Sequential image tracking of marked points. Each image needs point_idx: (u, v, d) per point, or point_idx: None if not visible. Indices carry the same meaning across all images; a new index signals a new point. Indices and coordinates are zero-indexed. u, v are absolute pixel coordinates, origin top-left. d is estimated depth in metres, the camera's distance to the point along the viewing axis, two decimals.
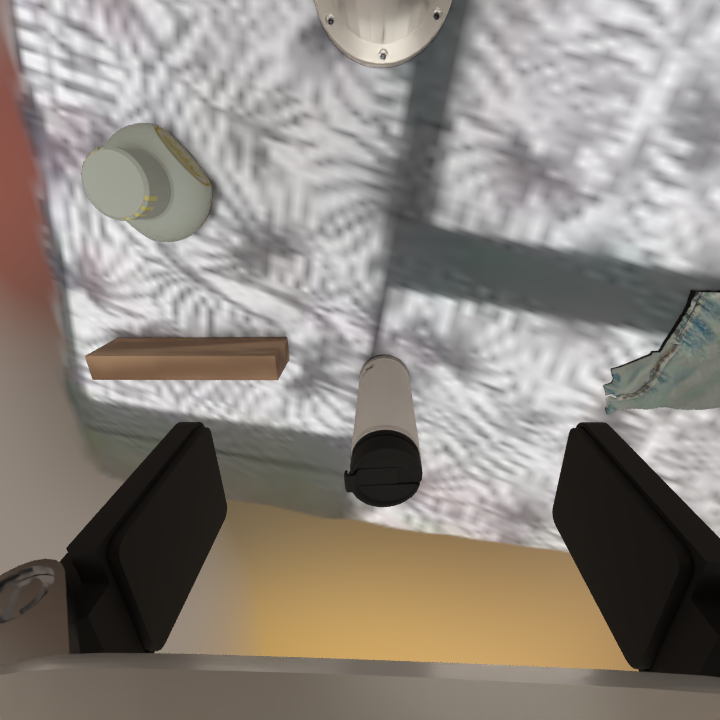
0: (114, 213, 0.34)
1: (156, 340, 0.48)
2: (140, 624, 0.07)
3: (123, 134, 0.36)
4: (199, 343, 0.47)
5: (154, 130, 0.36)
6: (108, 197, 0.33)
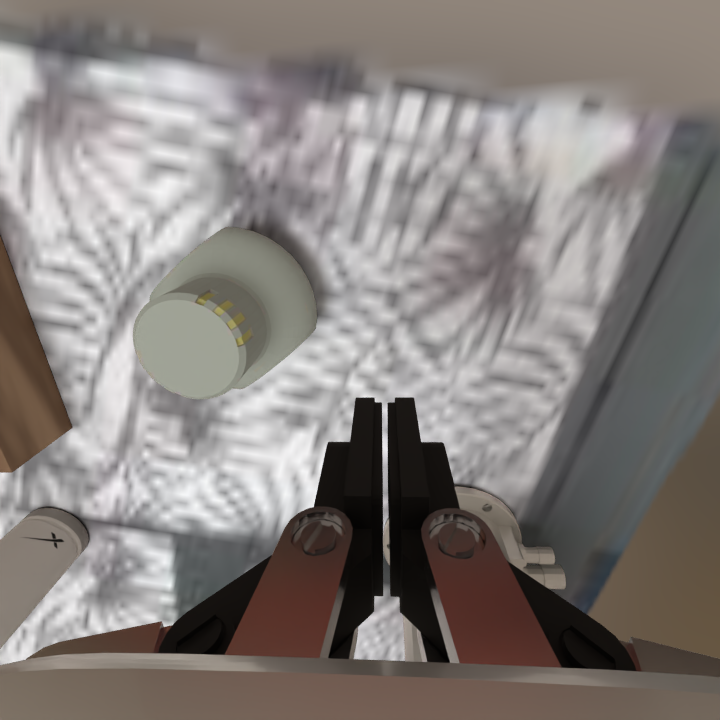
0: (140, 341, 0.19)
1: None
2: (378, 569, 0.08)
3: (292, 302, 0.23)
4: (5, 322, 0.28)
5: (302, 342, 0.25)
6: (164, 337, 0.19)
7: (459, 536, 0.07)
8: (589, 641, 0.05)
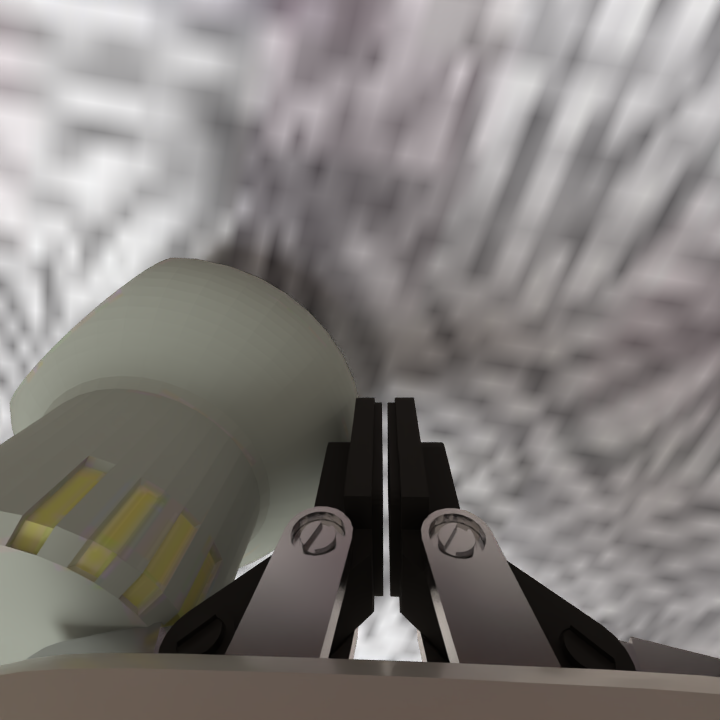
0: None
1: None
2: (378, 569, 0.08)
3: (316, 426, 0.10)
4: None
5: None
6: None
7: (459, 536, 0.07)
8: (589, 641, 0.05)
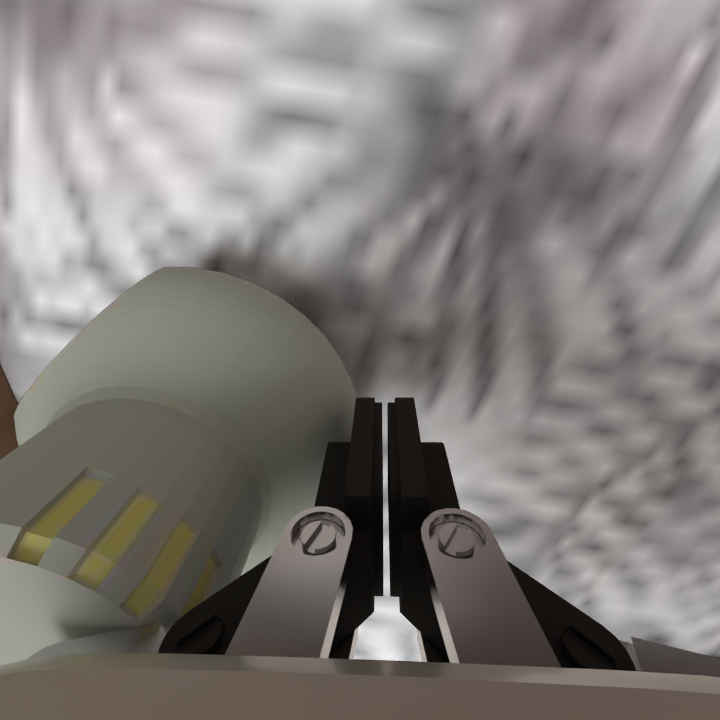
0: None
1: None
2: (378, 570, 0.08)
3: (315, 429, 0.10)
4: None
5: None
6: None
7: (459, 536, 0.07)
8: (589, 641, 0.05)
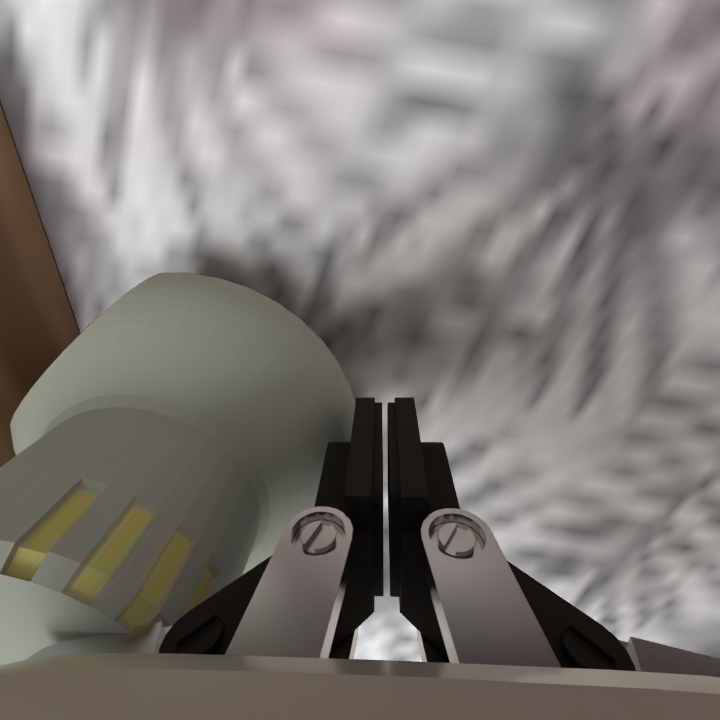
0: None
1: (27, 252, 0.13)
2: (378, 569, 0.08)
3: (312, 434, 0.10)
4: None
5: None
6: None
7: (459, 536, 0.07)
8: (589, 641, 0.05)
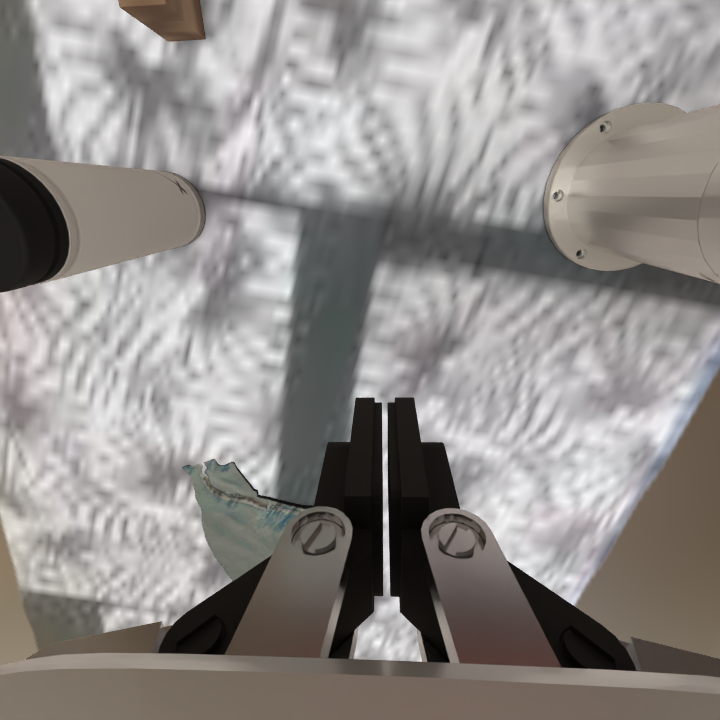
0: None
1: None
2: (378, 569, 0.08)
3: None
4: None
5: None
6: None
7: (459, 536, 0.07)
8: (589, 641, 0.05)
